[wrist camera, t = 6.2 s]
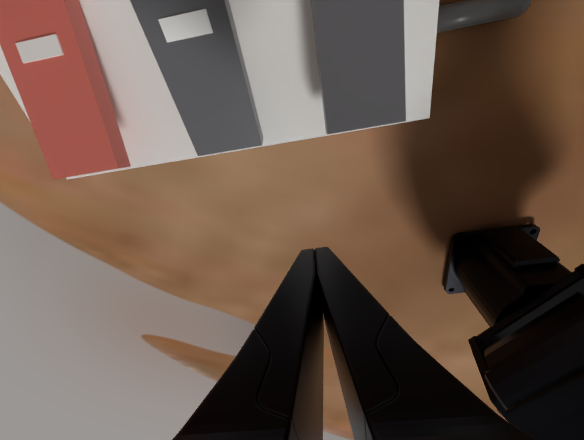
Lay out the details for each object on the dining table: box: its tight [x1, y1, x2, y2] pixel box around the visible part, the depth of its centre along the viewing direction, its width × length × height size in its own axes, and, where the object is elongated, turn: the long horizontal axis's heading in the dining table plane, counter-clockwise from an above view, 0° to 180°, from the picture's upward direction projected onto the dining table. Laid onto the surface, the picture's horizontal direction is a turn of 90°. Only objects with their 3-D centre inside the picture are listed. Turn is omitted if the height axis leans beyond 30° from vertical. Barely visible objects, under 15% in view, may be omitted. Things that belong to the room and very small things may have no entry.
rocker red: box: [0, 0, 131, 179], centre depth 13 cm, size 8×4×1 cm, turn 10°
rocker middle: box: [130, 0, 263, 156], centre depth 12 cm, size 8×4×1 cm, turn 9°
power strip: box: [0, 0, 531, 179], centre depth 15 cm, size 9×28×3 cm, turn 100°
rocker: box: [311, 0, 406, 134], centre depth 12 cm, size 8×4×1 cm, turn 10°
